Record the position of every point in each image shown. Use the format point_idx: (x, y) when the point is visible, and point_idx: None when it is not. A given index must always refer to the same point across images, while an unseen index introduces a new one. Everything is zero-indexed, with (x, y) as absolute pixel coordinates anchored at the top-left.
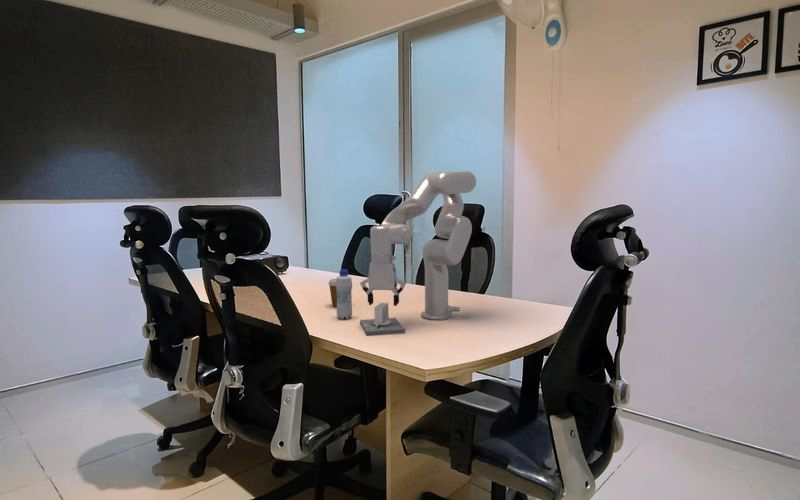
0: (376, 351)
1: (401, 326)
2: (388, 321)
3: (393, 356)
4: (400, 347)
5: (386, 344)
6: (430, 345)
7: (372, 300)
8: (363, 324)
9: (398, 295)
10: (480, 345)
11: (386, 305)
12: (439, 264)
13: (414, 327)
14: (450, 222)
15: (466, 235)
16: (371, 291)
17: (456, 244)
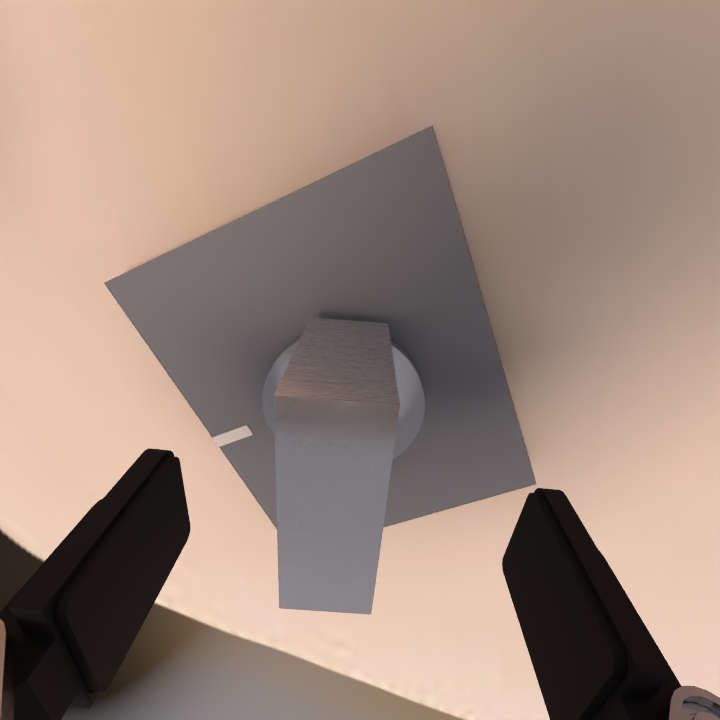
0: (405, 680)
1: (509, 429)
2: (403, 410)
3: (478, 707)
4: (501, 642)
5: (433, 620)
6: (646, 613)
7: (157, 517)
8: (206, 418)
9: (662, 688)
10: None
11: (387, 480)
12: None
13: (605, 319)
14: None
15: None
16: (7, 693)
17: None
